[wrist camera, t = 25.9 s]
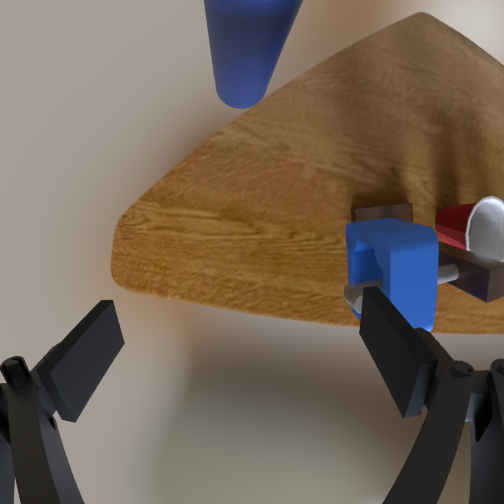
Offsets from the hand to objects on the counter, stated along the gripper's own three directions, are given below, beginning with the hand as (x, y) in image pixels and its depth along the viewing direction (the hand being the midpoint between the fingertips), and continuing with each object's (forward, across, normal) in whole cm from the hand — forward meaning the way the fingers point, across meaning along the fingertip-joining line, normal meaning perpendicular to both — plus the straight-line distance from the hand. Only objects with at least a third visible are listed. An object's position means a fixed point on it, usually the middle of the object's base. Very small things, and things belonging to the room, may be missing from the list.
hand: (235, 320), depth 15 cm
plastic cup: (+31, +33, -3) cm, 46 cm away
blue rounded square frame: (+18, +13, -4) cm, 22 cm away
